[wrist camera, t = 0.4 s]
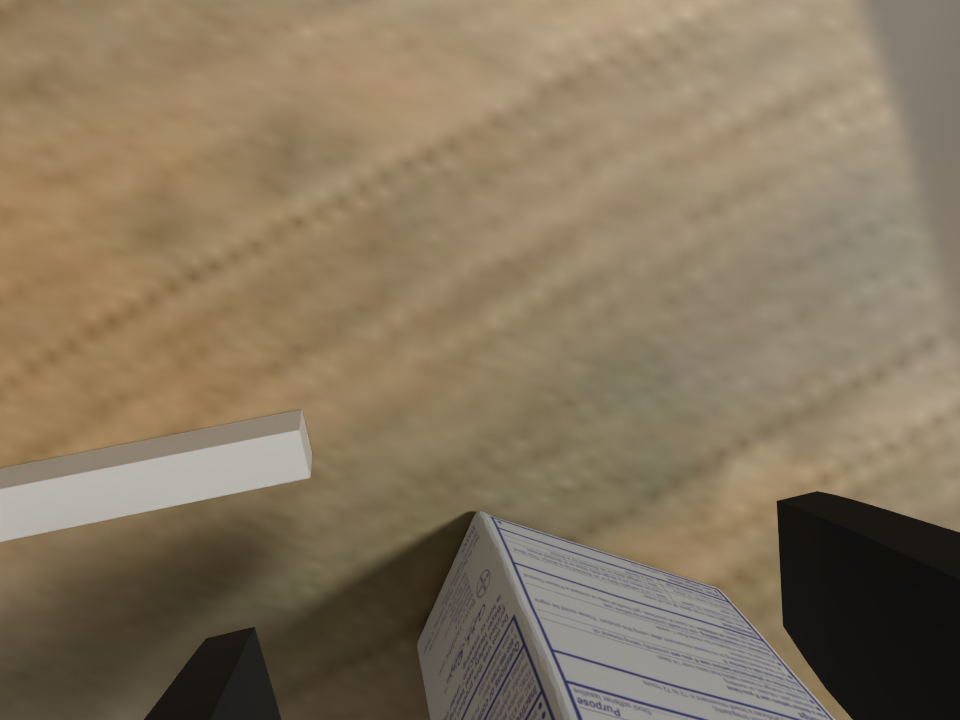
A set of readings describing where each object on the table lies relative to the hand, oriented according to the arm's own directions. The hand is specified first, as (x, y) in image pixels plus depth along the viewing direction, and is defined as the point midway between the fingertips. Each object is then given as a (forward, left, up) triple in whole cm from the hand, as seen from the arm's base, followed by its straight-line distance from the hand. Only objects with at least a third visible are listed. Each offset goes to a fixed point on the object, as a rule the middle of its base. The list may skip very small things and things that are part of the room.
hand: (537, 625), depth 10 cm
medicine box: (-7, -3, -10) cm, 12 cm away
